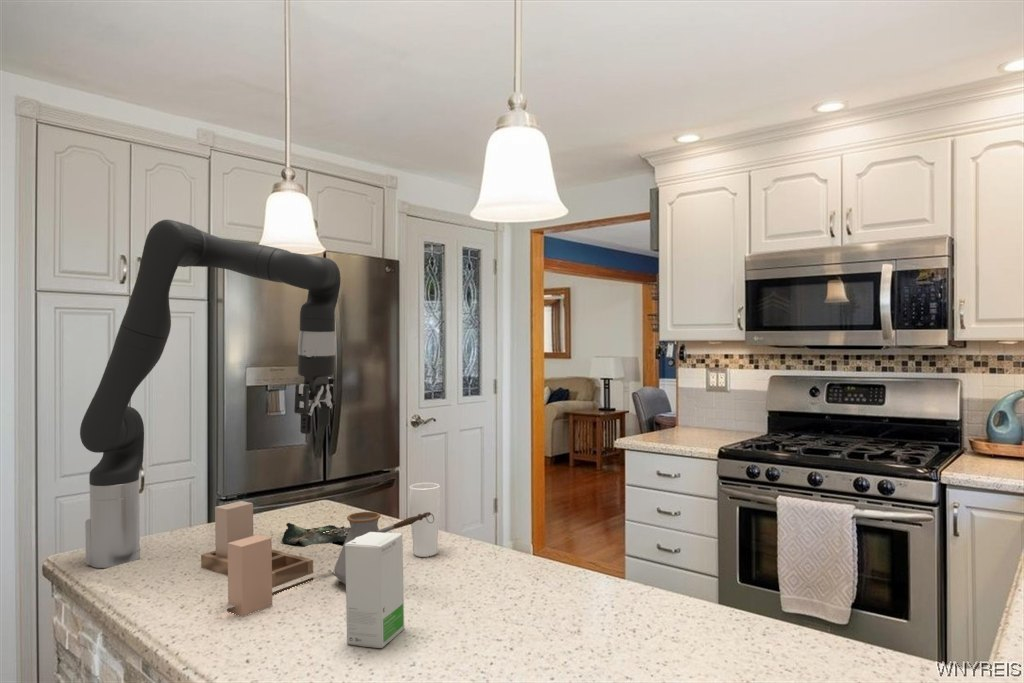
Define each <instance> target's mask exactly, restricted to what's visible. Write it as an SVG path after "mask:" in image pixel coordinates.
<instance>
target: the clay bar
mask: <svg viewBox="0 0 1024 683" xmlns="http://www.w3.org/2000/svg"><path fill="white" fill-rule="evenodd" d="M272 542H273V541H272V538H271V537H268V536H264V535H259V534H255V535H253V536H251V537H248V538H244V539H240V540H237V541H233V542H230V543H227V544H228V576H227V604H228V605H231V606H232V607H229V608H228V610H227V612H228V611H229V612H231V613H230V614H232V613H234V614H233V615H235V614H236V615H235V616H238V615H239V616H238V617H240V616H244V617H246V616H245V615H247V616H249V615H251V614H250V613H252V614H254V613H256V612H255V611H257V612H259V611H258V610H260V611H262V610H264V609H263V608H265V609H267V608H269V607H268V606H270V607H272V606H273V595H272V592H273V588H272V548H273V545H272ZM271 605H272V606H271ZM266 607H267V608H266ZM261 609H262V610H261ZM229 612H228V613H229ZM253 612H254V613H253ZM248 614H249V615H248Z"/></svg>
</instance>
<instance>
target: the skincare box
mask: <svg viewBox="0 0 1024 683" xmlns="http://www.w3.org/2000/svg"><path fill="white" fill-rule="evenodd" d="M403 544H404V543H403V533H399V532H385V533H381V532H369V533H366V534H364V535H362V536H359V537H356V538H355V539H354V540H352V541H350V542H348V543H346V544H345V560H346V586H345V605H346V606H345V607H346V608H345V612H346V613H345V614H346V615H345V616H346V644H347V645H351V646H358V647H366V648H374V649H382V648H384V647H385V646H386V645H387V644H388V643H390V642H391V641H392V640H393V639H394V638H395V637H397V635H399V633H401V632H402V631H403V630H404V629H405V610H404V609H405V600H404V599H405V598H404V596H405V595H404V594H405V592H404V555H403V554H404V553H403V552H404V550H403V548H404V547H403Z"/></svg>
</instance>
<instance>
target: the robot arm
mask: <svg viewBox="0 0 1024 683" xmlns="http://www.w3.org/2000/svg"><path fill="white" fill-rule="evenodd" d="M148 231H149V232H148V233H147V235H146V238H145V242H144V246H143V250H142V255H141V259H140V263H139V267H138V272H137V276H136V278H135V282H134V286H133V289H132V291H131V292H132V293H131V295H130V299H129V302H128V305H127V307H126V311H125V313H124V315H123V318H122V320H121V324H120V325H119V329H118V331H117V334H116V337H115V340H114V344H113V347H112V350H111V353H110V355H109V358H108V361H107V363H106V365H105V368H104V372H103V374H102V377H101V379H100V382H99V384H98V387H97V389H96V391H95V393H94V395H93V397H92V399H91V401H90V403H89V404H88V407H87V409H86V412H85V414H84V416H83V418H82V421H81V424H80V428H79V436H80V440H81V443H82V446H83V447H84V448H85V449H86V450H87V451H89V452H91V453H95V454H96V453H97V454H98V453H99V454H101V453H102V457H101V459H100V460H99V462H98V463H97V464H96V465H95V466H94V467H92V469H91V470H90V471H89V476H88V479H89V480H88V482H89V518H88V519H86V520H85V522H84V523H85V524H84V525H85V526H84V528H85V530H84V532H85V533H84V534H85V535H84V536H85V566H90V567H93V568H95V569H96V568H98V569H107V568H108V569H109V568H112V567H117V566H120V565H124V564H127V563H130V562H131V563H132V562H134V561H138V560H140V559H141V530H140V529H141V528H140V527H141V525H140V524H141V522H140V519H141V517H140V514H141V513H140V471H141V469H142V466H143V463H144V448H145V427H144V426H145V424H144V420H143V418H142V415H141V414H140V412H139V411H138V409H136V408H134V407H133V406H132V407H131V406H129V404H130V402H131V400H132V398H133V395H134V393H135V391H136V390H137V388H138V387H139V386H140V384H141V383H142V382H143V381H144V380H145V378H147V376H148V375H149V374H150V373H151V371H152V370H153V369H154V368H155V366H156V365H157V364H158V362H159V361H160V359H161V357H162V355H163V353H164V350H165V347H166V344H167V342H168V339H169V336H170V333H171V328H172V316H171V309H170V292H171V286H172V283H173V279H174V276H175V274H176V272H177V269H178V268H181V267H182V268H187V267H200V268H205V267H206V268H214V269H215V268H217V269H223V270H227V271H232V272H235V273H239V274H241V275H245V276H249V277H251V278H256V279H261V280H265V281H269V282H274V283H282V284H286V285H288V286H292V287H294V288H295V287H296V288H299V289H303V290H308V292H307V299H306V302H305V303H303V304H302V305H301V308H300V312H299V335H298V342H297V343H298V344H297V374H298V375H299V376H300V377H303V378H304V380H303V383H296V384H295V390H294V393H295V394H294V411H293V412H294V414H298V415H300V427H299V428H300V433H301V434H304V435H305V434H306V435H309V434H312V433H313V412H314V410H315V409H314V408H315V407H317V406H318V407H319V408H318V426H320V427H328V426H330V424H331V409H332V408H333V405H335V404H336V377H333V376H334V375H335V373H336V345H337V344H336V343H337V342H336V334H335V332H336V331H335V329H336V326H335V325H336V319H335V318H336V314H335V313H336V312H335V311H336V307H337V303H338V299H339V293H340V288H341V272H340V267H339V266H338V264H337V263H336V261H334V260H332V259H330V258H327V257H322V256H321V257H320V256H316V255H312V254H311V255H310V254H304V253H297V252H291V251H289V250H287V249H283V248H282V249H281V248H279V247H274V246H270V245H269V246H268V245H264V244H257V243H252V242H241V241H239V242H238V241H233V240H229V239H224V238H221V237H218V236H215V235H213V234H210V233H208V232H206V231H203V230H201V229H198V228H196V227H195V226H193V225H190V224H187V223H184V222H182V221H181V222H180V221H177V220H173V219H162V220H159V221H157V222H156V223H154V225H153V226H151V228H150V230H148Z"/></svg>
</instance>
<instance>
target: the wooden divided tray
mask: <svg viewBox="0 0 1024 683" xmlns="http://www.w3.org/2000/svg"><path fill="white" fill-rule="evenodd" d="M200 562H201V563H200V566H201V567H200V568H202V569H205V570H209V571H211V572H215V573H218V574H221V575H224V576H227V577H228V558H227V559H225V558H222V557H218V556H216V550H214V551H210V552H206V553H203V554H200ZM313 573H314V560H313V559H311V558H307V557H303V556H299V555H296V554H291V553H288V552H284V551H280V550H275V549H272V589H273V588H274V587H278V586H280V585H283V584H286V583H290V582H292V581H294V580H297V579H300V578H303V577H306V576H308V575H311V574H313ZM311 580H312V581H314V577H310V578H307V579H304V580H301V581H299V582H297V583H294V584H290V585H288V586H284V587H283V588H279V589H277V590H274V591H272V596H275V595H278V594H280V593H283V592H285V591H284V590H286V591H288V590H290V588H291V589H293V588H292V587H294V588H296V587H299V586H301V585H300V584H302V585H304V584H306V582H307V583H309V582H308V581H310V582H312V581H311ZM303 583H304V584H303ZM298 585H299V586H298ZM295 586H296V587H295ZM287 589H288V590H287ZM282 591H283V592H282ZM279 592H280V593H279ZM277 593H278V594H277ZM274 594H275V595H274Z"/></svg>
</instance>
